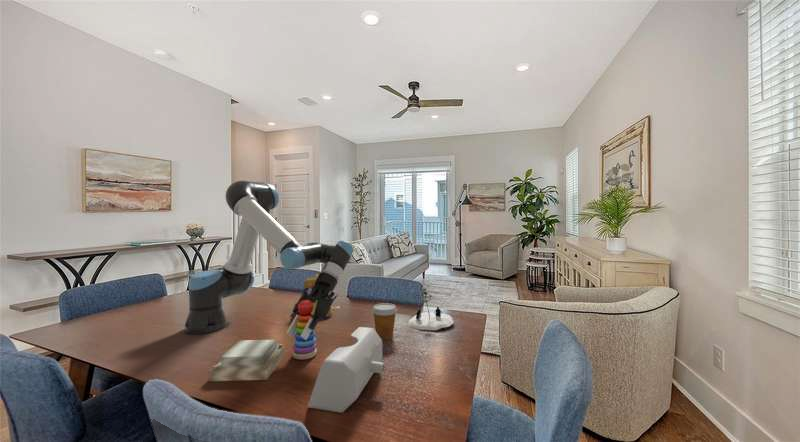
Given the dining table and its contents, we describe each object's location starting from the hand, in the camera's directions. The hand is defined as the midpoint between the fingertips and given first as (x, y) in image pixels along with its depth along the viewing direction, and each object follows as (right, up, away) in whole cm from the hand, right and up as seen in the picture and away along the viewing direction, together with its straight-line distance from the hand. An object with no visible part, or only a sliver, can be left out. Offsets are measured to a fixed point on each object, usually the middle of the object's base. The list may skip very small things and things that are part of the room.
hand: (296, 336), depth 102 cm
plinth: (-13, -8, -4) cm, 16 cm away
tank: (+22, -9, -15) cm, 28 cm away
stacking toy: (+2, -8, +3) cm, 9 cm away
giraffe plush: (-6, -7, +48) cm, 49 cm away
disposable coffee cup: (+28, -8, +19) cm, 34 cm away
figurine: (+47, -7, +34) cm, 59 cm away
